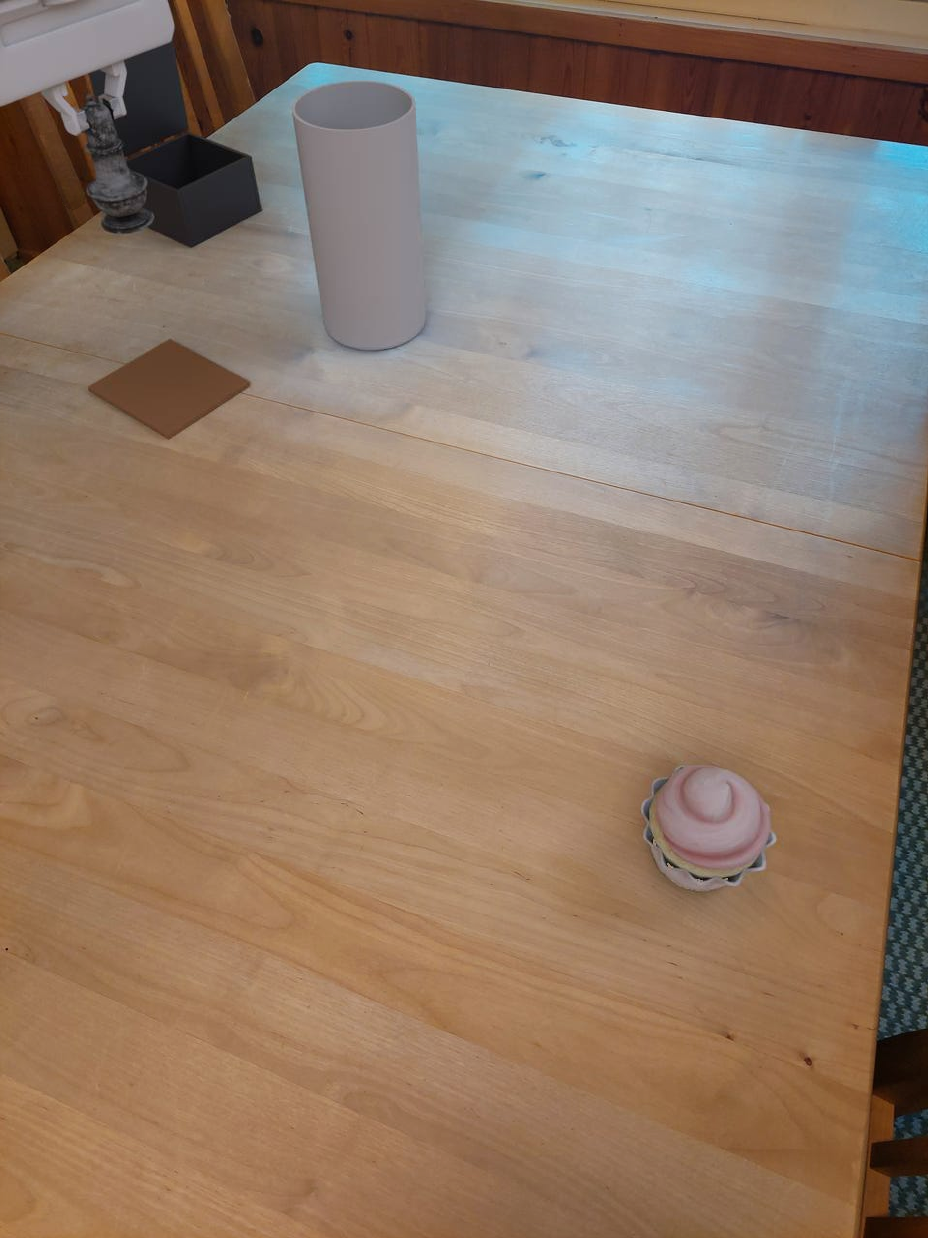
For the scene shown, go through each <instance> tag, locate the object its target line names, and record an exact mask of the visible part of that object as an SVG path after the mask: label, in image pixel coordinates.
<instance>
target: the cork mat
mask: <svg viewBox="0 0 928 1238" xmlns="http://www.w3.org/2000/svg"><path fill="white" fill-rule="evenodd" d="M249 387H251V382H250V380H248V379H246V378H244V377H242V376H240V375H238V374H236V373H234V372H232V371H231V370H229V369H227V368H225V367H223V366H221V365H219V364H218V363H216V362H214V361H213V360H211V359H208V358H206V357H205V356H203V355H201V354H199V353H198V352H195V351H193V350H191V349H190V348H188V347H186V346H185V345H183V344H181V343H178V342H177V341H175V340H173V339H171V338H169V339H167V340H165V341H163V342H161V343H160V344H158V345H157V346H155V347H153V348H152V349H150V350H148V351H146V352H145V353H143V354H141V355H139V356H138V357H136V358H134V359H133V360H131V361H129V362H127V363H126V364H124V365H122V366H121V367H119V368H117V369H115V370H114V371H112V372H111V373H109V374H107V375H105V376H103V377H102V378H100V379H99V380H96V381H95V382H94V383H92V384H90V385H89V386H87V389H88V392H90V393H91V394H93V395H95V396H96V397H98V398H100V399H102V401H105V402H107V403H108V404H109V405H112V407H115V408H116V409H118V410H119V411H121V412H123V413H125V414H126V415H128V416H130V417H131V418H132V419H134V420H135V421H138V422H140V423H141V424H143V425H144V426H146V427H148V428H149V429H150V430H153V431H154V432H156V433H157V434H159V435H161V436H162V437H164V438H165V439H168V440H170V439H172V438H173V437H175V436H176V435H177V434H179V433H181V432H182V431H184V430H185V429H187V428H189V426H191V425H192V424H195V423H196V422H198V421H200V419H202V418H204V417H205V416H207V415H208V414H210V413H212V412H213V411H214V410H216V409H217V408H219V407H220V406H222V405H224V404H225V403H227V402H228V401H229V400H231V399H232V398H234V397H235V396H237V395H239V394H240V393H241V392H243V391H245V390H246V389H248V388H249Z"/></svg>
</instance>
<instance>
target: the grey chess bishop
mask: <svg viewBox="0 0 928 1238" xmlns="http://www.w3.org/2000/svg"><path fill="white" fill-rule="evenodd" d="M85 99H86V100H87V102H86V103H85V104H83V105H82V106H81V107H80V109H81V110H83V111H85V114H86V117H87V123H88V124H89V127H90V130H88V131H86V132H84V133H83V134H84V136H85V139H86V142H87V143H86V145H85V146H84V150H85V152H87V153H88V154H90V157H91V161H92V163H93V166H94V171H95V178H94V179H93V180H91V181H90V182H89V183H88V185H87V186H86V189H85V191H86V193H87V196H88V197H90V198H91V199H92V202H93V203H94V204H95V206H96V207H97V208H98V209H99V210H100V211H101V212H102V213H104V214H105V215H104V216H103V217H102V219H101V220H100V226H101V228H102V229H103V230H104V231H105V232H107V233H109V234H110V233H111V234H115V235H126V234H133V233H137V232H140V231H143V230H145V229H147V228H148V226H149V225H151V224H152V222H153V221H154V215H153V213H152V212H151V211H149V210H147V209H145V208H142V207H143V205H144V204H145V202H146V194H147V191H146V187H147V180H146V178H145V177H143V176H142V175H140V174H137V173H132V172H131V171H130V170H129V168H128V166H127V164H126V161H125V160H126V157H124V154H123V151H122V147H123V145H124V143H123V141H122V140H121V139H119V138H118V137H117V133H116V130H115V127H114V123H113V120H112V117H111V113H110V111H109V109H108V108H107V107H106V106H105V105H104V104H102V103H99V102H96V101H95V100H94V95H92V94H90V92H87V94H86V97H85Z"/></svg>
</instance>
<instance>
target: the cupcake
mask: <svg viewBox="0 0 928 1238" xmlns="http://www.w3.org/2000/svg"><path fill="white" fill-rule="evenodd" d="M650 788H651V795H650V796H649V797H648V798H646V799H645V800H643V801H642V804H641V806H640V810H641V811H640V812H641V815H642V817H643V819H644V821H645V822H646V825H645V827H644V830H643V835H642V839H643V840H644V841H645V842H646V844H648V845H649V847H650V851H652V852H651V855H652V854H653V856H652V858H653V857H654V858H653V860H654V859H655V861H656V863H657V865H658V867H659V868H660V869H661V870H662V871H663V873H664V874H666V875H667V876H668V877H669V878H670V879H671V880H673V881H674V882H675V883H677V884H678V885H681V886H683V887H686V888H689V889H693V890H700V891H707V890H708V892H710V891H709V890H714V889H717V890H719V889H722V888H724V887H726V886H730V887H738V886H739V885H740V884H741V882H742V880H743V879H744V876H745V875H747V874H751V873H756V872H761V871H763V870H766V867H767V862H766V860H767V859H766V854H765V851H766V850H768V848H770V847H772V846H773V845H774V844H775V843H776V842H777V841H778V838H777V836H776V834H775V833H774V831H773V830H772V829H771V825H772V820H771V815H770V812H771V807H770V805H768V804H767V803H766V801H765V800H764V798H763V797H762V796H761V794H760V793H759V792H758V791H757V790H756V788H754V786H753V785H751V783H749V781H748V780H747V779H746V778H743V777H742V776H740V775H739V774H737V773H736V772H734V771H733V770H732V771H731V770H730V769H729V770H728V769H726V768H722V767H718V766H715V765H705V764H694V765H688V766H687V765H681V764H679V765H678V766H677V767H676V768H674V770H673V772H672V773H671V775H670V776H667V777H658V778H657V779H655V780H653V781H652V783H651V785H650ZM653 839H654V840H655V843H656V846H655V845H654V844H653ZM655 861H654V862H655ZM656 863H655V864H656ZM667 863H669V864H670V865H671V866H673V867H674V868H670V867H668V865H667ZM657 865H656V866H657ZM658 867H657V868H658ZM659 868H658V869H659ZM663 873H662V874H663ZM725 878H728V880H727V881H726V880H724V879H725ZM696 879H700V880H703V881H701V882H699V881H698V880H696ZM725 885H726V886H725ZM723 886H724V887H723ZM721 887H722V888H721ZM718 888H719V889H718ZM714 891H715V890H714Z"/></svg>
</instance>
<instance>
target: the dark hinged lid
mask: <svg viewBox="0 0 928 1238" xmlns="http://www.w3.org/2000/svg"><path fill="white" fill-rule="evenodd" d="M124 64H125V67H126V71H127V75H126V81H125V87H124V92H123V95H122V98H123V101H124V105H125V109H126V115H125V116H122V117H120V118H117V119H115V120H113V123H114V127H115V130H116V133H117V137H118V138H119V139H121V140H122V141H123V143H124V145H123V147H122V151H123V154H124V158H127V157H129V156H131V155H134V154H136V153H137V152H140V151H142V150H144V149H147V148H149V147H151V146H153V145H156V144H158V143H160V142H162V141H163V142H164V141H165V140H168V139H169V138H173V137H174V136H175V135H178V134H180V133H181V134H182V132H185V131H187V130H189V129H190V126H189V120H188V115H187V109H186V104H185V100H184V94H183V89H182V84H181V78H180V72H179V66H178V61H177V56H176V51H175V44H174V40H173V38H172V40H171V42H169V43H167V44H165V45H162V46H159V47H157V48H154V49H151V50H149V51H146V52H144V53H141V54H138V55H136V56H133V57H130V58H128V59H125V60H124ZM87 75H88V79H89V83H90V86H91V91H92V94H93V99H94V101H96V102H99V99H98V96H100V95H102V94H105V93H104V91H105V78H106V73H105V72H102V71H101V70H100V69H99V70H96V71H94V72H91V73H88V74H87Z"/></svg>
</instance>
